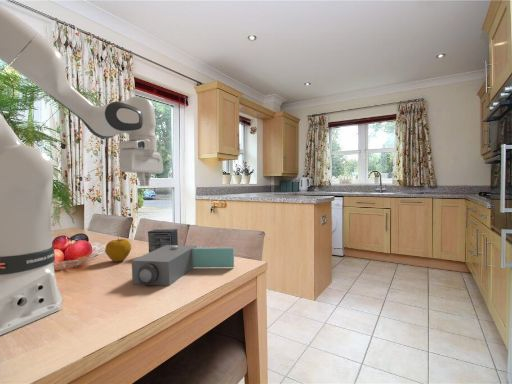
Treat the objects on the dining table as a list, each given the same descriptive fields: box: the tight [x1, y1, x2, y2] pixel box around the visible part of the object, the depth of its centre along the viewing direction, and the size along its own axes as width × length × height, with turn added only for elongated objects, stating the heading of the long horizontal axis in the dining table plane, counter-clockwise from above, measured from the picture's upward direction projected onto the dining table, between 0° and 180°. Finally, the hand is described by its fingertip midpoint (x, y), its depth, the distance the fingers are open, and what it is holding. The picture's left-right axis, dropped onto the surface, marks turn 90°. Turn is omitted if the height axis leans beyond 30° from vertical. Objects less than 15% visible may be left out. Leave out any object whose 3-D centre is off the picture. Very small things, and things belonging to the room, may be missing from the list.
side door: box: [192, 247, 235, 269], centre depth 93 cm, size 14×2×7 cm, turn 86°
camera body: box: [131, 244, 198, 287], centre depth 87 cm, size 22×12×8 cm, turn 169°
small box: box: [147, 228, 179, 253], centre depth 113 cm, size 11×6×10 cm, turn 84°
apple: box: [104, 238, 132, 263], centre depth 104 cm, size 9×9×9 cm
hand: (144, 186), depth 93 cm, fingers closed
